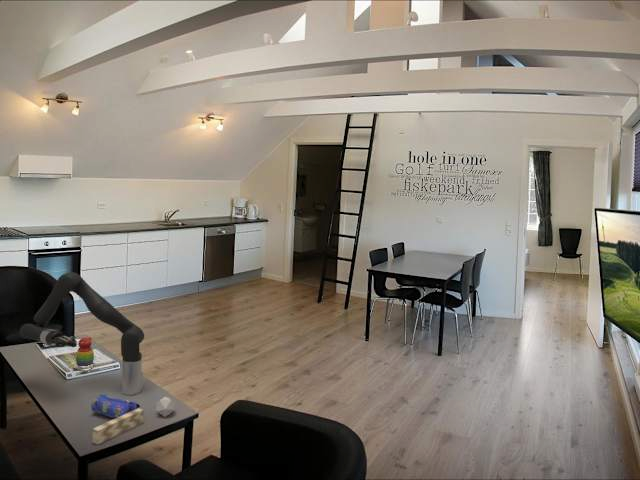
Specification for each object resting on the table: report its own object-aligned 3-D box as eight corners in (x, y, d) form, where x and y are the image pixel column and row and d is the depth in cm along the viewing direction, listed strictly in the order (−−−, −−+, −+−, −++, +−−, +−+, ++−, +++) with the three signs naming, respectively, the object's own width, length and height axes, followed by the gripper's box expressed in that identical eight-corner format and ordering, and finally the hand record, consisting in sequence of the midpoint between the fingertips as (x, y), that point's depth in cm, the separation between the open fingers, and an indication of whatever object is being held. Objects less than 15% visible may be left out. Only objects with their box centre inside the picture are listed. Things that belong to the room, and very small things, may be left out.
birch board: (138, 420, 234) (138, 408, 233) (143, 422, 233) (143, 409, 232) (92, 442, 213) (92, 428, 212) (97, 444, 212) (97, 430, 211)
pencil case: (140, 418, 236) (141, 398, 235) (127, 426, 228) (128, 406, 227) (103, 408, 244) (103, 389, 243) (89, 415, 236) (89, 395, 235)
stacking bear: (90, 363, 298) (91, 333, 296) (97, 368, 291) (98, 338, 289) (71, 367, 290) (71, 337, 288) (78, 372, 283) (78, 341, 281)
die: (162, 410, 247) (151, 398, 242) (178, 402, 247) (168, 390, 242) (162, 423, 240) (151, 411, 235) (178, 415, 241) (168, 402, 235)
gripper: (39, 333, 244) (62, 340, 236) (64, 327, 256) (87, 333, 247) (39, 348, 245) (62, 356, 237) (64, 341, 256) (87, 348, 248)
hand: (75, 344), depth 242 cm, fingers closed
